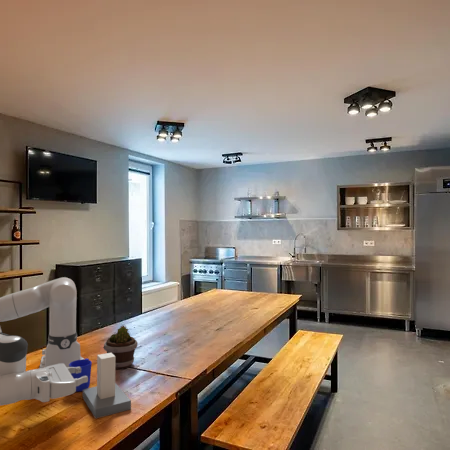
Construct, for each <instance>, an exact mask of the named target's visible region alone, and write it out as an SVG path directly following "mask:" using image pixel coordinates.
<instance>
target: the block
mask: <svg viewBox="0 0 450 450" xmlns="http://www.w3.org/2000/svg"><path fill="white" fill-rule="evenodd" d="M96 357H97V359H96V360H97V362H96V368H97V369H96V370H97V371H96V375H97V376H96V382H97V383H96V386H97V395H98V396H99V397H100V399H104V398H108V397H112V396H115V383H116V369H115V356H114V355H113V354H112V353H107V352H106V353H101V354H97V356H96Z"/></svg>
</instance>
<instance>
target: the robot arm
mask: <svg viewBox="0 0 450 450" xmlns="http://www.w3.org/2000/svg"><path fill="white" fill-rule="evenodd" d="M77 292H78V291H77V287H76V284H75V281H73V280H72V279H71V278H68V277H66V276H64V277H63V276H62V277H59V278H55V279H53V280H49V281H47V282H46V281H45V282H44V283H40V284H38V285H36V286H33V287H29V288H26V289H23V290H18V291H16V292H13V293H9V294H6V295H4V296H1V297H0V322H7V321H12V320H16V319H19V318H22V317H26V316H28V315H32V314H35V313H38V312H41V311H43V310H45V309H47V308H49V334H48V338H47V340H48V341H47V345H46V348H44V349H42V352H41V355H42V356H41V359H40V364H39V368H34V369H30V370H26V368H27V354H28V348H29V347H28V346H29V344H28V342H27V340H26V339H25V338H23V337H22V336H19V335H12V334H7V333H3V331H2V328H1V327H2V326H0V406H4V405H5V406H7V405H12V404H15V403H17V402H19V401H23V400H24V401H26V400H27V401H29V400H34V399H35V400H38V401H40V402H41V403H47V402H50V399H52V400H53V399H54V400H55V399H59V398H64V397H67V396H71V395H73V394H75V393H76V392H77V391H76V386H79V385H81V384H82V383H86V382H88V377H87V376H82V377H81V378H78V379H77V378H75V379H74V378H73V377H72V375H71V373H76V374H77V373H81V367H69V364H70V363H71V362H73V361H76V360H83V359H85V358H84V357H82V355H81V343H79V342H78V333H77V299H78V297H77V294H78V293H77Z"/></svg>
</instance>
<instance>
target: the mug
mask: <svg viewBox="0 0 450 450" xmlns="http://www.w3.org/2000/svg"><path fill="white" fill-rule="evenodd" d="M92 364H93V363H92V360H90V359H89V358H84V359H83V360H76V361H73V362H71V363H70V364H69V367H81V373H77V374H76V373H71V375H72V377H73V378H74V379H75V378H77V379H78V378H81V377H82V376H87V377H88V382H86V383H82V384H81V385H79V386H76V392H83V389H87V388H90V384H91V374H92Z"/></svg>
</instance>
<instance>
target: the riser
mask: <svg viewBox="0 0 450 450" xmlns="http://www.w3.org/2000/svg"><path fill="white" fill-rule="evenodd" d="M82 399H83V401H84V403H86V405H87V407H88V409H89V410H90V412H91V413H92V416H93V418H94V419H99V418H103V417H107V416H110V415H114V414H118V413H121V412H126V411H129V410H131V409H132V400H131V399H130V398H129V397H128V395H127V394H126V393H125V392H124V391H123V390H122V388H121V387H120V386H119V385H118V384H117V382H115V396H112V397H108V398H104V399H100V397H99V396H98V395H97V385H96V386H92V387H88V388H87V389H83V391H82Z"/></svg>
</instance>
